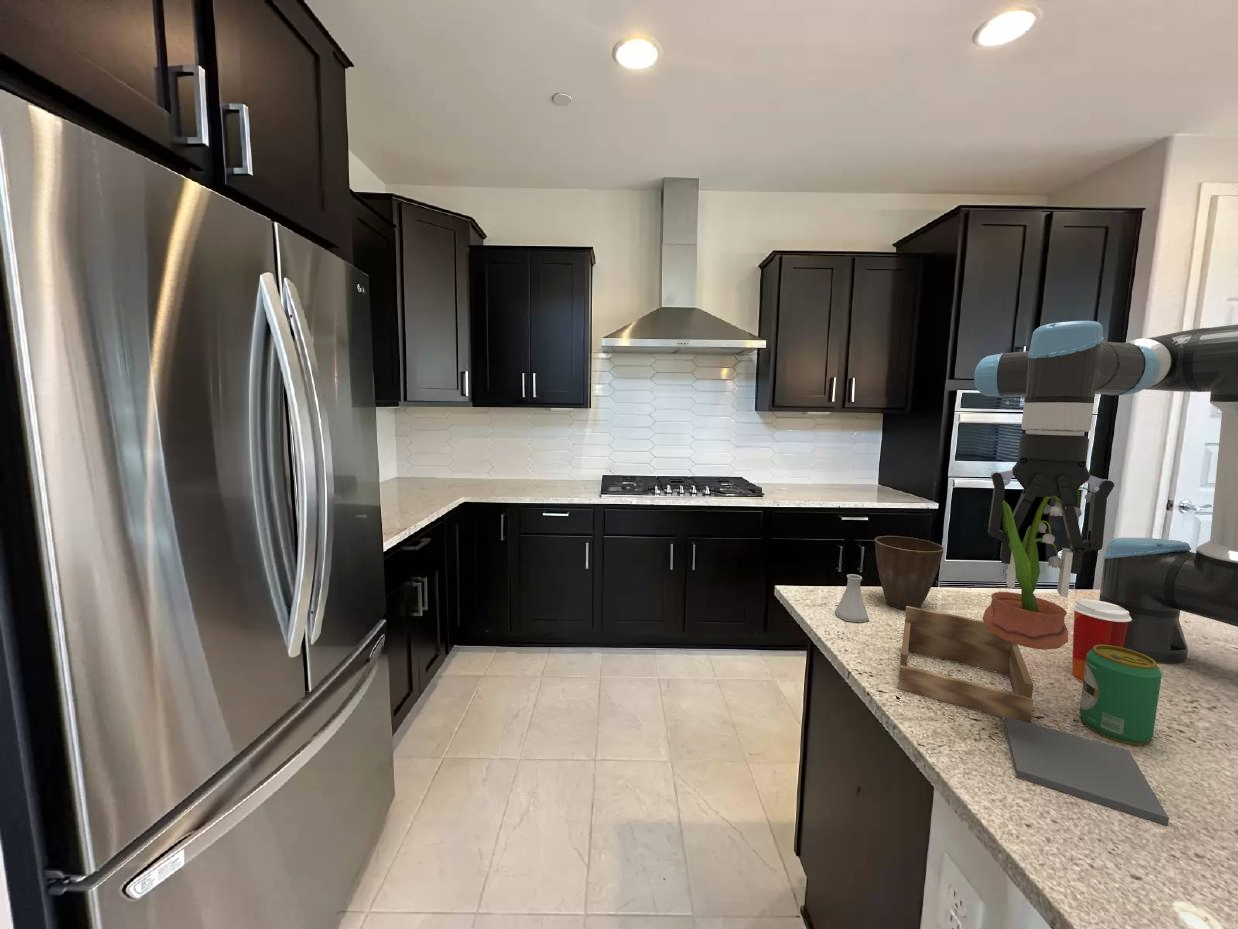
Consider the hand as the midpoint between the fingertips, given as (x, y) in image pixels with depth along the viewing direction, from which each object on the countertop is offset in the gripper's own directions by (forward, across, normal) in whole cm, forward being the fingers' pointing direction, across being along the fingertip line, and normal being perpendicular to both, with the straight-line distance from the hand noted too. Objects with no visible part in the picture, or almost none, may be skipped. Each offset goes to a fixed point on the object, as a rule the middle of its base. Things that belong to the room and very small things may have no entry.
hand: (1035, 589), depth 73 cm
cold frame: (+22, +8, -11) cm, 26 cm away
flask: (+22, +28, -30) cm, 47 cm away
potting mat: (+22, -5, +6) cm, 24 cm away
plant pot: (+22, +19, -47) cm, 55 cm away
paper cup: (+22, -13, -26) cm, 37 cm away
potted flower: (+8, 0, 0) cm, 8 cm away
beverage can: (+22, -12, -8) cm, 27 cm away
